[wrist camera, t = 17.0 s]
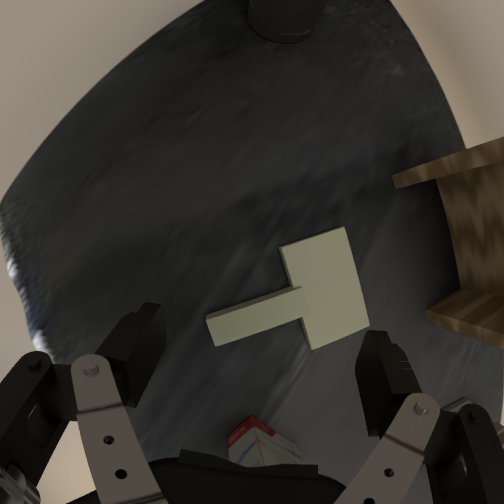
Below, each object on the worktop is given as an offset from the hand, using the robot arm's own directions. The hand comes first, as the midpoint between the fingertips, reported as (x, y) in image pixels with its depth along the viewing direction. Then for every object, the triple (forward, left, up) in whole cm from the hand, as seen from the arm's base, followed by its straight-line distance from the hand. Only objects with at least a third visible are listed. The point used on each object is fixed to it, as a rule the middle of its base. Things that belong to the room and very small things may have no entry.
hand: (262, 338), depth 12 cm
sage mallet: (+5, +5, -22) cm, 23 cm away
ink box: (+22, -3, -23) cm, 31 cm away
